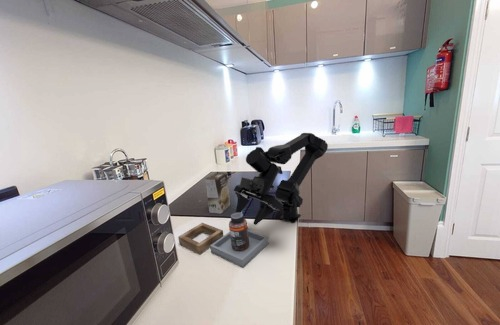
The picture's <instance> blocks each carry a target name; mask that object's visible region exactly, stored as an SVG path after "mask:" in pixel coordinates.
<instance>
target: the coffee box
mask: <svg viewBox="0 0 500 325" xmlns="http://www.w3.org/2000/svg"><path fill="white" fill-rule="evenodd" d="M204 181H205V186H206V187H205V188H206V195H207V196H206V197H207V203H208V204H207V205H208V210H209V211H208V212H209V213H211V214H223V213H224V212H225V211H226V210H227V209H228V208H229V207H230V206H231V201H230V200H231V198H230V191H229V180H228V173H226V172H215V173H213V174H211V175H209V176H208V177H206V178H205V180H204Z"/></svg>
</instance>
